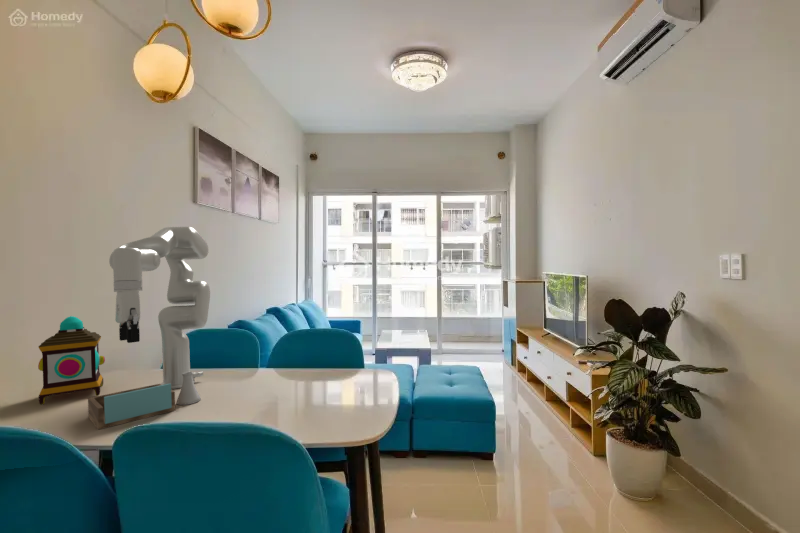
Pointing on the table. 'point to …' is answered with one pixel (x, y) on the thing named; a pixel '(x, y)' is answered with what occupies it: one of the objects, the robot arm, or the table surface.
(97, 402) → the crate
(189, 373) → the flask
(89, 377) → the decorative lantern
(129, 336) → the robot arm
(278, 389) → the table surface
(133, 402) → the teal panel
